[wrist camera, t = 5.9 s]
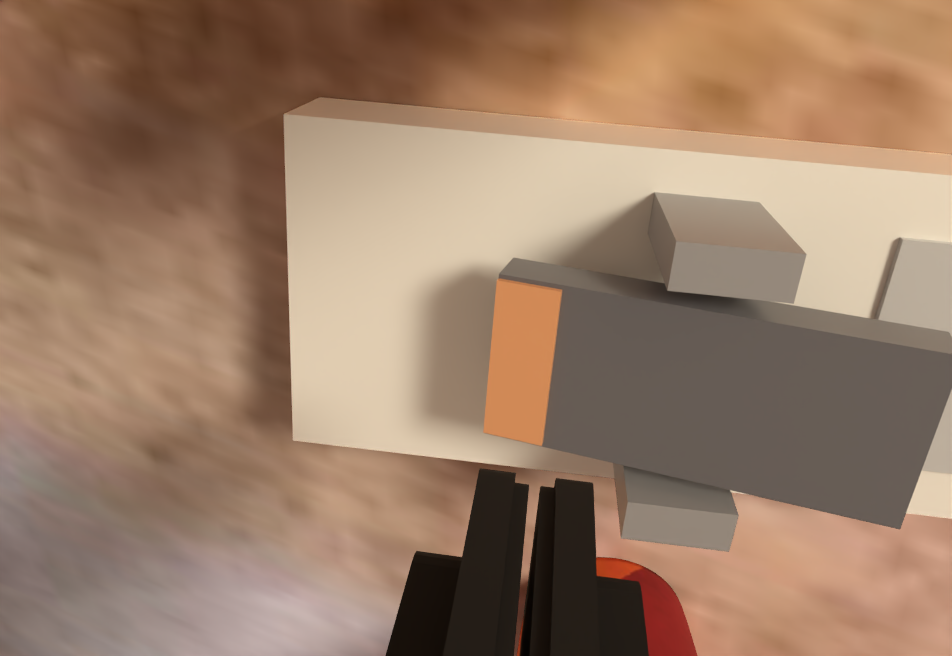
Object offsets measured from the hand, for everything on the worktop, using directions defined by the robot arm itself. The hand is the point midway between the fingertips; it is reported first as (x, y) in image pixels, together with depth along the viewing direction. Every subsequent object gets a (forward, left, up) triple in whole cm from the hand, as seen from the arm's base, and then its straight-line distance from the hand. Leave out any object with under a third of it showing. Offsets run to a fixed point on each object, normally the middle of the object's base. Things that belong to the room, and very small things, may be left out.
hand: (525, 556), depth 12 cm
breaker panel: (-2, -3, -12) cm, 12 cm away
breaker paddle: (-2, -3, -6) cm, 7 cm away
